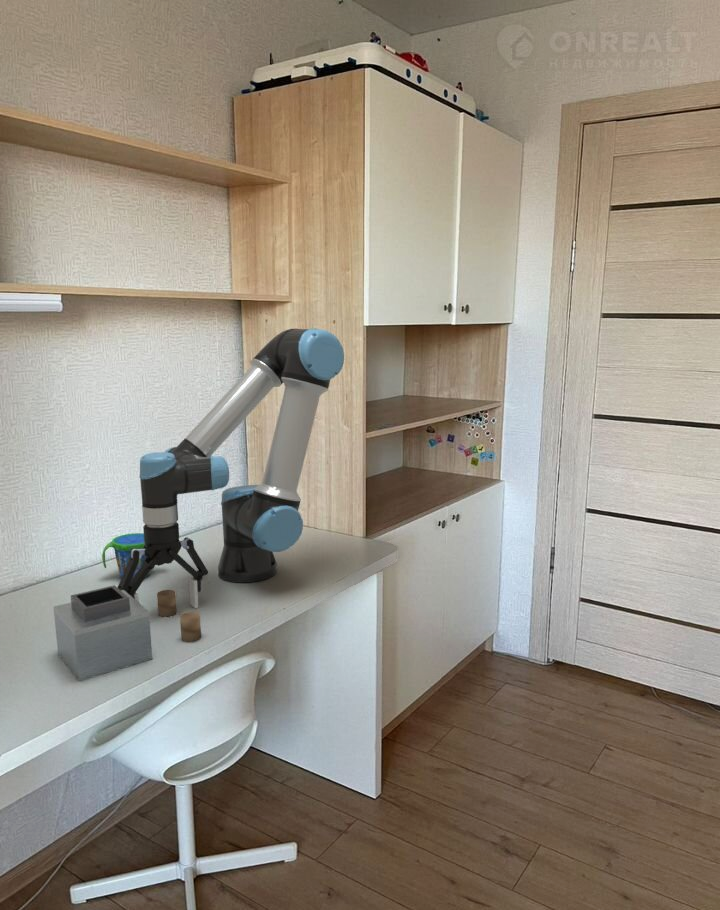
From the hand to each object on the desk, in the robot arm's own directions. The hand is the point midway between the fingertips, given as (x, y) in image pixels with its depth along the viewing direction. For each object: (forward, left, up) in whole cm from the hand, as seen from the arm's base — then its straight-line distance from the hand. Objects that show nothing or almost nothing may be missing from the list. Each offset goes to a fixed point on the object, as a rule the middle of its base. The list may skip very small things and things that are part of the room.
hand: (166, 613), depth 161 cm
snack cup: (-3, -28, 0) cm, 28 cm away
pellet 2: (+1, +15, 0) cm, 15 cm away
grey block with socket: (+18, +12, 0) cm, 21 cm away
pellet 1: (0, 0, 0) cm, 0 cm away
